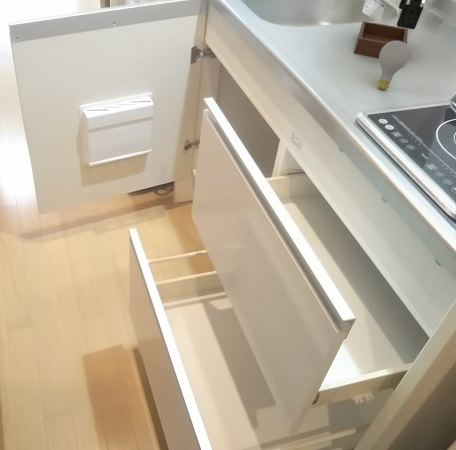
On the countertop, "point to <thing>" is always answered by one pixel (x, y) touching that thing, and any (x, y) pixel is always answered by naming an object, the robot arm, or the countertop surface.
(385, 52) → the light bulb
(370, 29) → the tray
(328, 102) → the countertop surface
